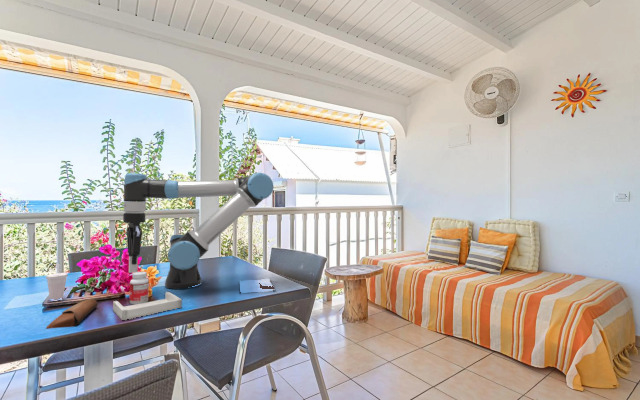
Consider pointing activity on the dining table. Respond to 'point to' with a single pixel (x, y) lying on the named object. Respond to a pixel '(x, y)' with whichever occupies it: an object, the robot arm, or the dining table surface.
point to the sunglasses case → (73, 314)
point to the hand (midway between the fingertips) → (133, 272)
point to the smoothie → (56, 284)
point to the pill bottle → (139, 288)
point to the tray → (147, 307)
